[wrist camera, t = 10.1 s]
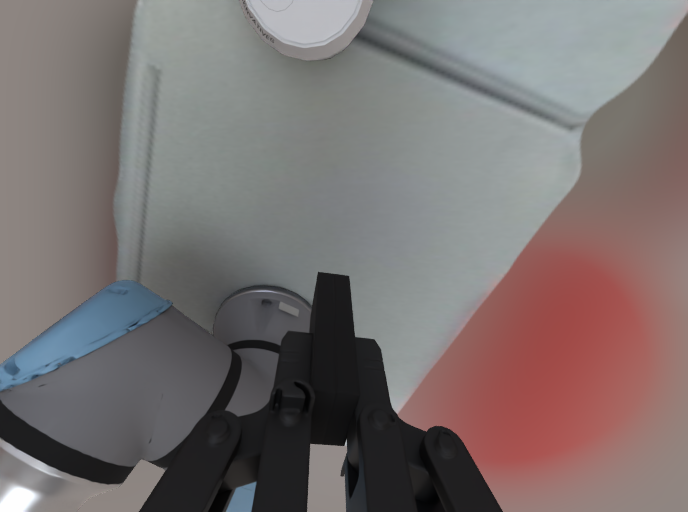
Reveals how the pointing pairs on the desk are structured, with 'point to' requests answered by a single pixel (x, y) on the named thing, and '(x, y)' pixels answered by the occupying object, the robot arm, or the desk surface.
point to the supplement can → (307, 25)
